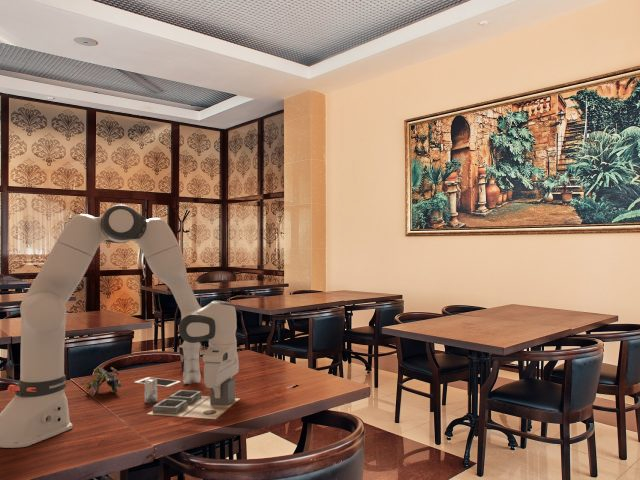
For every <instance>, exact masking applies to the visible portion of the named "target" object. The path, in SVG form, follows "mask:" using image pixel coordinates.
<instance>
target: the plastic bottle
mask: <svg viewBox="0 0 640 480" xmlns="http://www.w3.org/2000/svg"><path fill="white" fill-rule="evenodd" d="M181 345H182V346H183V353H184V371H182V372H183V373H182V382H183V384H184V385H185V384H186V385H192V384H196V383H197V384H199V383H200V382H201V379H202V375H201V370H200V359H199V353H200V350H201V342H198V343H189V342H186V341H185V340H183V342H182V344H181Z"/></svg>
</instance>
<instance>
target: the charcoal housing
mask: <svg viewBox="0 0 640 480" xmlns="http://www.w3.org/2000/svg"><path fill="white" fill-rule="evenodd" d="M220 390H221V391H222V396H221V397H220V398H215V392H214V390H213V388H209V391H210V392H209V395H210V396H209V397H210V405H222V406H229V405H230V404H231V403H232V402H233V401H235V398H236V378H233V377H232V378H229V379H228V380H226V381H225V382H223V383H222V384H221V387H220Z"/></svg>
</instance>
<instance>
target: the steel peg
mask: <svg viewBox="0 0 640 480" xmlns="http://www.w3.org/2000/svg"><path fill="white" fill-rule="evenodd" d="M156 402H157V403H158V386H157V379H147V380H145V384H144V403H145V404H153V403H154V404H155V403H156Z"/></svg>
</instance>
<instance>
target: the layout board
mask: <svg viewBox="0 0 640 480" xmlns="http://www.w3.org/2000/svg"><path fill="white" fill-rule="evenodd" d="M240 399H241V398H239V397H238V398H237V397H235V401H233V402H232V403H231V404H230V405H229V406H222V405H210V396H205V395H202V390H186V389H180V390H177V391H176V392H175V393H173V394H171V395H169V396H168V398H164V399H163V400H160V401H159V402H157V403H156V404H154V405H153V406H152V410H151V411H150V412H148V413H147V415H153V416H155V415H156V416H169V417H180V418H181V417H182V418H183V417H184V418H197V419H208V420H209V419H210V420H217V419H218V418H220V417H221V415H222V414H224V413H225V412H226V411H227V410H228V409H230V408H231V407H232V406H233V405H235V404H236V403H238V401H239V400H240Z"/></svg>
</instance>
